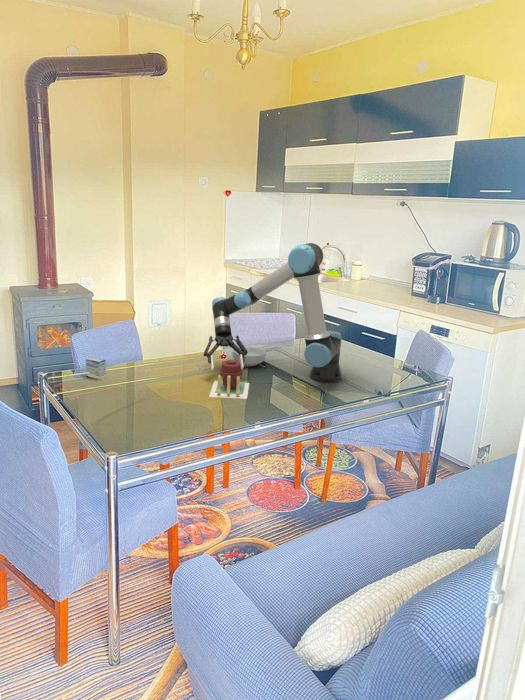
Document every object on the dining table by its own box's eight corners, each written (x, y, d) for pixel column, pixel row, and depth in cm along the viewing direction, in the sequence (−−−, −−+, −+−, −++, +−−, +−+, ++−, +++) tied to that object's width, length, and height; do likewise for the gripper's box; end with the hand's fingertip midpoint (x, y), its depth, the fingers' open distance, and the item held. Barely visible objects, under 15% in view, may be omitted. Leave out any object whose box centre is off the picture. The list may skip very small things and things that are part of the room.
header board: (249, 384, 233) (249, 382, 233) (246, 401, 215) (246, 398, 215) (214, 382, 233) (214, 380, 233) (208, 398, 215) (208, 396, 215)
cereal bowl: (271, 363, 264) (272, 350, 262) (253, 371, 250) (254, 358, 248) (244, 356, 272) (244, 344, 270) (225, 364, 259) (225, 351, 257)
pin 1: (220, 394, 217) (221, 375, 215) (220, 396, 216) (221, 376, 214) (217, 394, 218) (218, 374, 215) (217, 396, 216) (217, 376, 214)
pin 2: (230, 395, 217) (230, 375, 215) (229, 396, 216) (230, 376, 213) (226, 395, 217) (227, 375, 215) (226, 396, 216) (227, 376, 213)
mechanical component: (244, 385, 230) (238, 393, 220) (222, 382, 232) (216, 390, 222) (245, 358, 226) (239, 365, 217) (223, 356, 228) (217, 363, 219)
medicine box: (86, 377, 233) (85, 359, 231) (92, 374, 237) (91, 356, 235) (100, 380, 231) (99, 361, 228) (106, 377, 234) (105, 359, 232)
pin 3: (239, 396, 217) (240, 376, 215) (239, 397, 216) (240, 377, 213) (236, 395, 217) (236, 375, 215) (235, 397, 216) (236, 377, 213)
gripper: (247, 331, 247) (252, 371, 237) (195, 332, 241) (199, 373, 231) (250, 323, 240) (256, 364, 231) (196, 324, 234) (200, 366, 225)
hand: (227, 369), depth 231 cm, fingers open, 13 cm apart
